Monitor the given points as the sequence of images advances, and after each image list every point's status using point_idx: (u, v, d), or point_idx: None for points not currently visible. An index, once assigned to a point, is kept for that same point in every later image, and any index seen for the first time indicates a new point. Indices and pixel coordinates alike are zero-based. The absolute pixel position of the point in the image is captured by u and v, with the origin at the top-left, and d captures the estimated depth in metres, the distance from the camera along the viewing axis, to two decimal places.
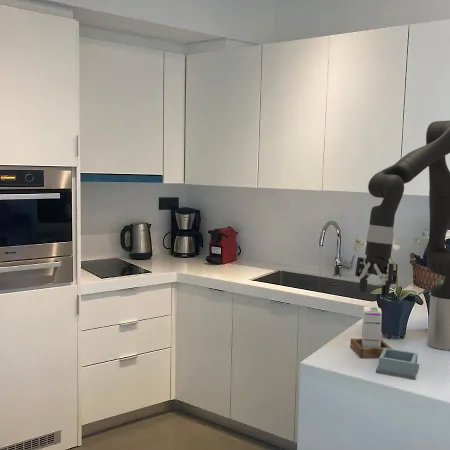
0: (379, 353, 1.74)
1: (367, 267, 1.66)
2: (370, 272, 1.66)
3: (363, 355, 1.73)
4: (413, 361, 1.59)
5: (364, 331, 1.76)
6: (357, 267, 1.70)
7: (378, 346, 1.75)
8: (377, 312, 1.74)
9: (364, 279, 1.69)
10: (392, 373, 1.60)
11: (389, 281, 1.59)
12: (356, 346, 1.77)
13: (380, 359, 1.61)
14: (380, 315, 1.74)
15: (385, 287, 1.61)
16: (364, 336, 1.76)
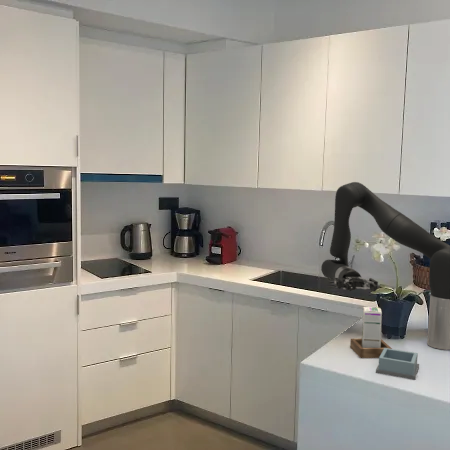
0: (379, 353, 1.74)
1: (360, 287, 1.95)
2: (359, 286, 1.93)
3: (363, 355, 1.73)
4: (413, 361, 1.59)
5: (364, 331, 1.76)
6: None
7: (378, 346, 1.75)
8: (377, 312, 1.74)
9: (370, 286, 1.91)
10: (392, 373, 1.60)
11: None
12: (356, 346, 1.77)
13: (380, 359, 1.61)
14: (380, 315, 1.74)
15: None
16: (364, 336, 1.76)
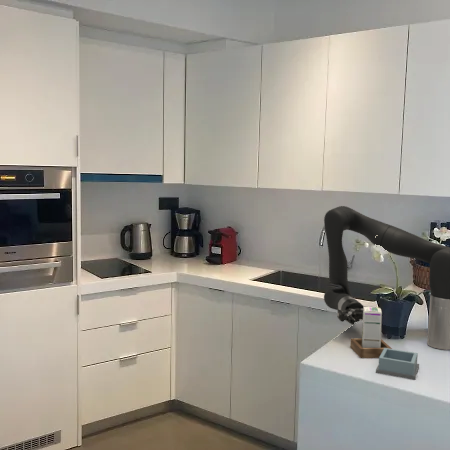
0: (379, 353, 1.74)
1: None
2: (362, 319, 1.90)
3: (363, 355, 1.73)
4: (413, 361, 1.59)
5: (364, 331, 1.76)
6: None
7: (378, 346, 1.75)
8: (377, 312, 1.74)
9: None
10: (392, 373, 1.60)
11: None
12: (356, 346, 1.77)
13: (380, 359, 1.61)
14: (380, 315, 1.74)
15: None
16: (364, 336, 1.76)
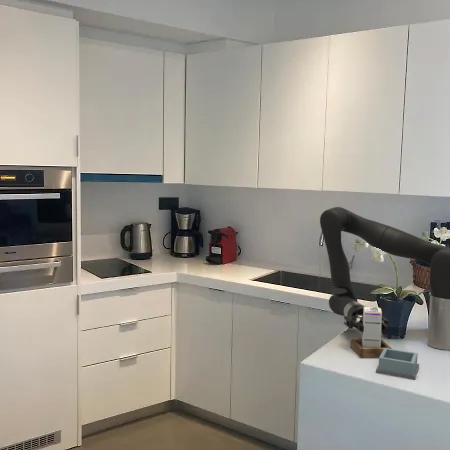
0: (379, 353, 1.74)
1: None
2: None
3: (363, 355, 1.73)
4: (413, 361, 1.59)
5: (364, 331, 1.76)
6: None
7: (378, 346, 1.75)
8: (377, 312, 1.74)
9: None
10: (392, 373, 1.60)
11: None
12: (356, 346, 1.77)
13: (380, 359, 1.61)
14: (380, 315, 1.74)
15: None
16: (364, 336, 1.76)
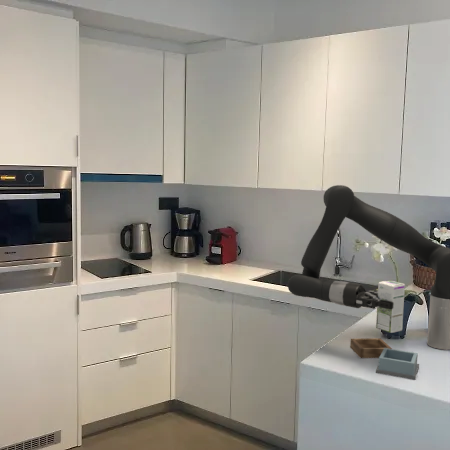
0: (379, 353, 1.74)
1: None
2: None
3: (363, 355, 1.73)
4: (413, 361, 1.59)
5: (393, 307, 1.62)
6: None
7: (401, 320, 1.65)
8: (401, 284, 1.64)
9: None
10: (392, 373, 1.60)
11: (372, 308, 1.63)
12: (356, 346, 1.77)
13: (380, 359, 1.61)
14: (404, 287, 1.64)
15: (381, 306, 1.63)
16: (392, 313, 1.62)
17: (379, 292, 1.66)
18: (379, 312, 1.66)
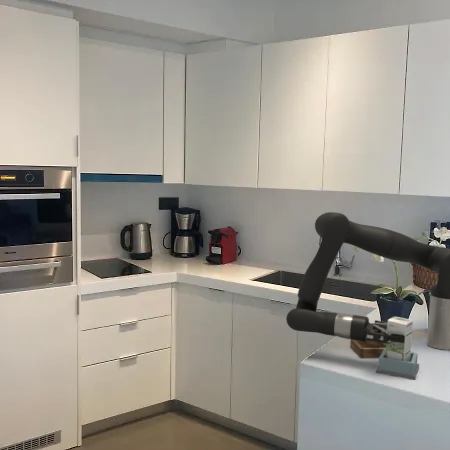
0: (379, 353, 1.74)
1: None
2: None
3: (363, 355, 1.73)
4: (413, 361, 1.59)
5: (405, 345, 1.60)
6: None
7: (409, 356, 1.64)
8: (410, 321, 1.62)
9: None
10: (392, 373, 1.60)
11: (384, 342, 1.59)
12: (356, 346, 1.77)
13: (380, 359, 1.61)
14: (412, 323, 1.62)
15: None
16: (404, 351, 1.60)
17: (389, 330, 1.62)
18: (389, 350, 1.62)
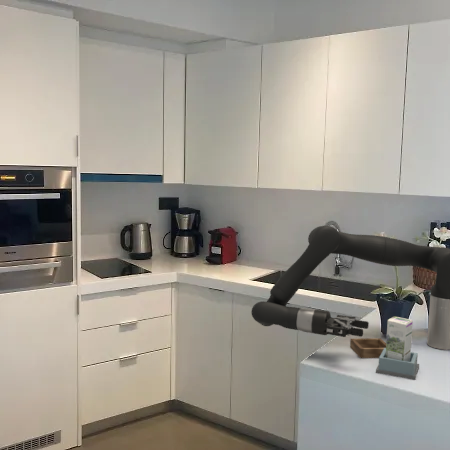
0: (379, 353, 1.74)
1: None
2: None
3: (363, 355, 1.73)
4: (413, 361, 1.59)
5: (405, 345, 1.60)
6: None
7: (409, 356, 1.64)
8: (410, 321, 1.62)
9: (355, 324, 1.72)
10: (392, 373, 1.60)
11: None
12: (356, 346, 1.77)
13: (380, 359, 1.61)
14: (412, 323, 1.62)
15: None
16: (404, 351, 1.60)
17: (389, 330, 1.62)
18: (389, 350, 1.62)
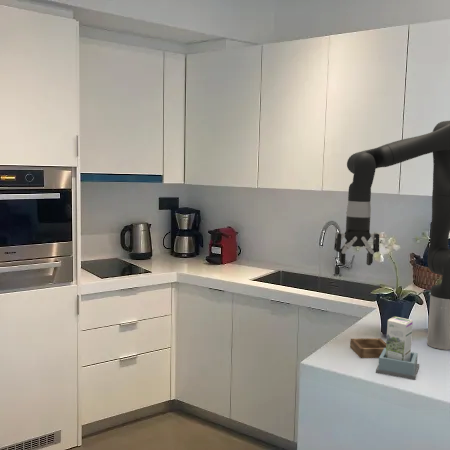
0: (379, 353, 1.74)
1: None
2: None
3: (363, 355, 1.73)
4: (413, 361, 1.59)
5: (405, 345, 1.60)
6: None
7: (409, 356, 1.64)
8: (410, 321, 1.62)
9: (368, 253, 1.79)
10: (392, 373, 1.60)
11: None
12: (356, 346, 1.77)
13: (380, 359, 1.61)
14: (412, 323, 1.62)
15: None
16: (404, 351, 1.60)
17: (389, 330, 1.62)
18: (389, 350, 1.62)
